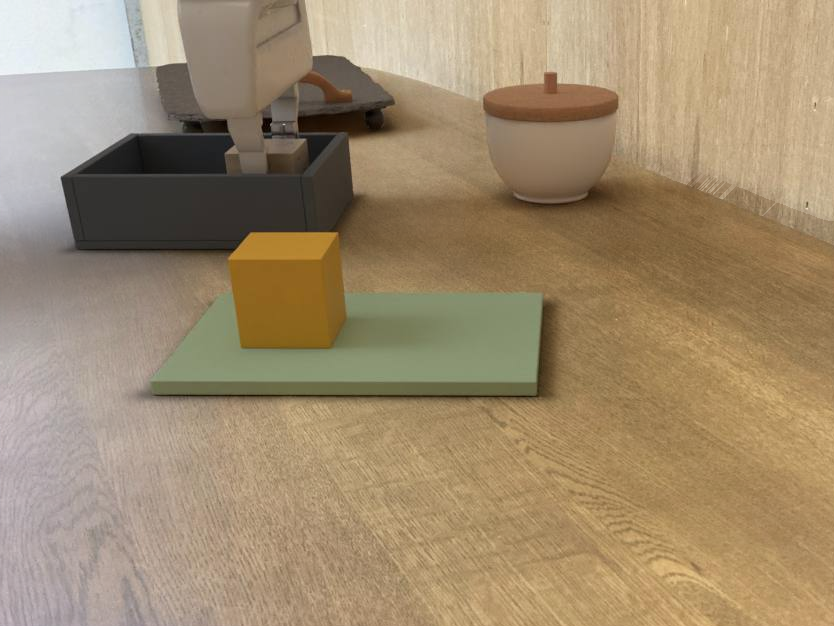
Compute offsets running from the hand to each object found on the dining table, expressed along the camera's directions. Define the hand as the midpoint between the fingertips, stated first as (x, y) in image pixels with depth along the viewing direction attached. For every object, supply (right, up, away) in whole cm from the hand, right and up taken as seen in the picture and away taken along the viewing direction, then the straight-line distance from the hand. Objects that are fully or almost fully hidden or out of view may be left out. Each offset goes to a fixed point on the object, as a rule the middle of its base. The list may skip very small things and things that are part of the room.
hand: (272, 159), depth 85 cm
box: (-4, -4, +3) cm, 6 cm away
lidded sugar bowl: (+21, 0, +9) cm, 23 cm away
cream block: (0, -3, +2) cm, 4 cm away
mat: (+10, -17, -20) cm, 28 cm away
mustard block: (+6, -17, -20) cm, 27 cm away
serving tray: (-10, +20, +42) cm, 48 cm away
